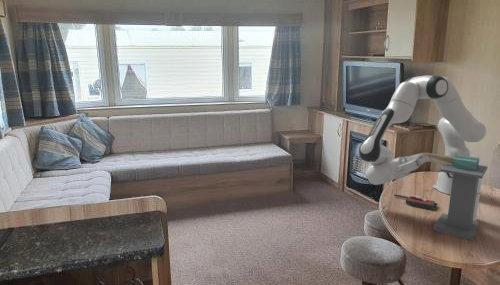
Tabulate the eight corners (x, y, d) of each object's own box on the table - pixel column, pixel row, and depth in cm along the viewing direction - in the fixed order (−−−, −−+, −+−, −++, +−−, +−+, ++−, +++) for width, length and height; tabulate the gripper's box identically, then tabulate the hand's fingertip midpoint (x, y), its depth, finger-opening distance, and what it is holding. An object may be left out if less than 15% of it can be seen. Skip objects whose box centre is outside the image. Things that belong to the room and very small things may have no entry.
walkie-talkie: (437, 205, 180) (394, 196, 191) (439, 196, 179) (395, 188, 190) (435, 211, 173) (390, 202, 184) (436, 202, 172) (390, 193, 183)
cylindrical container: (469, 223, 160) (477, 166, 154) (453, 216, 166) (461, 162, 161) (479, 220, 163) (488, 164, 158) (463, 214, 169) (471, 160, 164)
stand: (441, 217, 165) (449, 160, 160) (478, 226, 157) (487, 166, 151) (433, 230, 153) (440, 169, 147) (472, 240, 145) (482, 176, 139)
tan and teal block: (425, 157, 164) (426, 150, 163) (478, 166, 152) (479, 157, 151) (420, 161, 157) (421, 153, 157) (475, 170, 145) (476, 162, 145)
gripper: (390, 165, 159) (421, 154, 150) (404, 156, 175) (434, 145, 166) (396, 179, 158) (428, 169, 150) (410, 168, 174) (440, 158, 165)
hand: (431, 156), depth 158 cm, fingers open, 5 cm apart
